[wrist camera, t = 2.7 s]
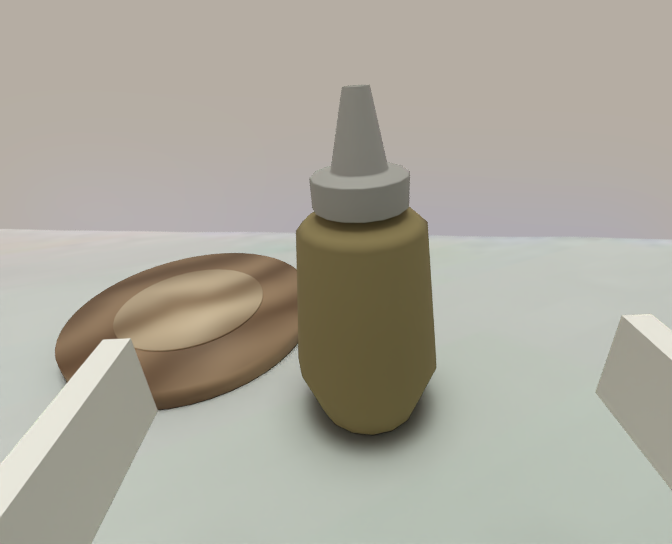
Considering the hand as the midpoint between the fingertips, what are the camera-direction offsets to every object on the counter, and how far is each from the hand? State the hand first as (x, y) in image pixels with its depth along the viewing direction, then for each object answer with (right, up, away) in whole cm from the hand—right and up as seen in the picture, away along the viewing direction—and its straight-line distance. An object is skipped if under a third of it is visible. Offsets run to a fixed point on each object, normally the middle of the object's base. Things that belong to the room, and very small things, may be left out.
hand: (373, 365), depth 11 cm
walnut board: (-13, -2, +23) cm, 27 cm away
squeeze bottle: (+1, -6, +14) cm, 15 cm away
